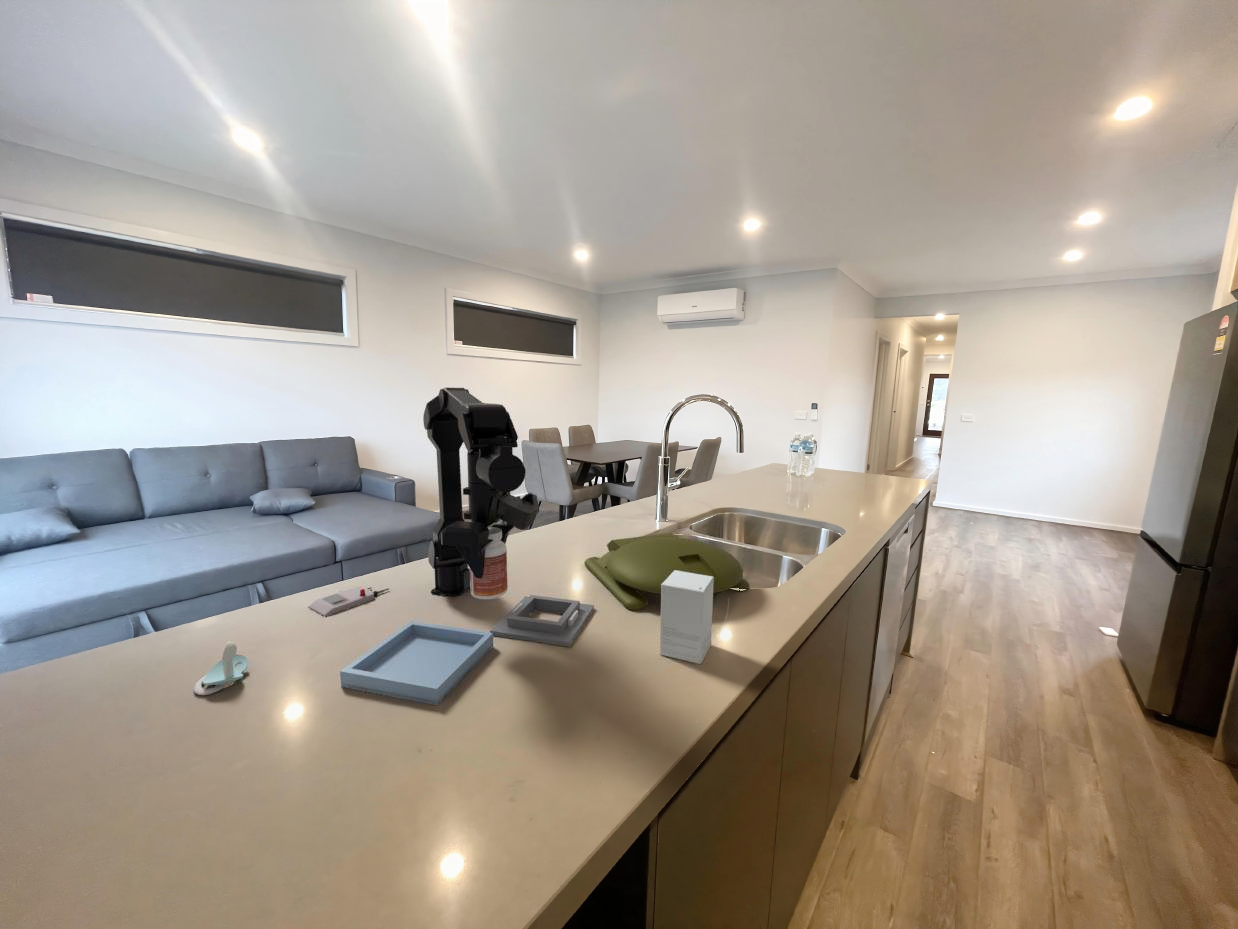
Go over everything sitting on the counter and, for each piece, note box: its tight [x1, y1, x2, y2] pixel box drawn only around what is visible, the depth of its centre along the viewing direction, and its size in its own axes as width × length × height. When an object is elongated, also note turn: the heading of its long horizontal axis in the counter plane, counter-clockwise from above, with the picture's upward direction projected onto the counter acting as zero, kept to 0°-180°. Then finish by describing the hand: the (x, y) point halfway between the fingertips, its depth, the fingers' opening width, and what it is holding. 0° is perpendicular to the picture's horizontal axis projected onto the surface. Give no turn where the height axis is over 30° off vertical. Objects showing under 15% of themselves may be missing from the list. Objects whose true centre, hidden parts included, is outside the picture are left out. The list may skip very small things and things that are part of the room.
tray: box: [339, 620, 494, 706], centre depth 77 cm, size 16×16×2 cm
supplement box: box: [659, 570, 714, 665], centre depth 82 cm, size 7×7×13 cm
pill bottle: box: [469, 527, 509, 600], centre depth 82 cm, size 6×6×11 cm
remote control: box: [307, 586, 390, 617], centre depth 99 cm, size 7×16×3 cm, turn 146°
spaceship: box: [583, 533, 750, 611], centre depth 112 cm, size 35×31×10 cm
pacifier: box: [193, 640, 249, 696], centre depth 71 cm, size 7×6×6 cm
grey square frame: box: [489, 594, 595, 648], centre depth 92 cm, size 15×15×2 cm
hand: (488, 570), depth 82 cm, fingers closed on pill bottle, 6 cm apart
